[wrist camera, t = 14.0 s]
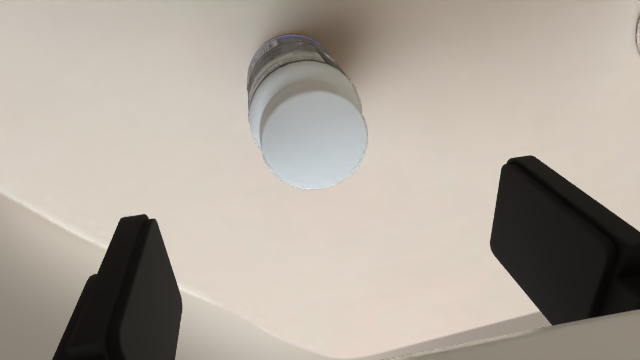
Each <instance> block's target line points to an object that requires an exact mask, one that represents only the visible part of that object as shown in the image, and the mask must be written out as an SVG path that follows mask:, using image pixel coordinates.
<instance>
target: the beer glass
mask: <svg viewBox="0 0 640 360" xmlns="http://www.w3.org/2000/svg"><path fill="white" fill-rule="evenodd" d="M637 45H638V49H639V51H640V19H639V23H638V28H637Z"/></svg>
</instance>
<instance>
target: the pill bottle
mask: <svg viewBox="0 0 640 360" xmlns="http://www.w3.org/2000/svg"><path fill="white" fill-rule="evenodd" d="M247 90H248V106H249V107H248V108H249V115H248V116H249V123H250V129H251V133H252V136H253V139H254V141H255V143H256V145H257V146H258V148H259V149H260V150H261V152H262V155H263V158H264V160H265V163H266V165H267V166H268V168H269V169H270V170H271V172H272V173H273V174H274V175H275V176H276V177H277V178H279V179H280V180H281V181H283V182H285V183H286V184H288V185H291V186H293V187H296V188H302V189H310V190H314V189H322V188H327V187H330V186H333V185H335V184H337V183H339V182H341V181H343V180H344V179H346V178H347V177H348V176H349V175H350V174H352V173H353V172H354V171H355V169H356V168H357V167H358V166H359V164H360V162H361V161H362V159H363V157H364V154H365V151H366V147H367V142H368V131H367V126H366V122H365V119H364V117H363V115H362V106H361V101H360V98H359V95H358V93H357V91H356V88H355V86H354V85H353V84H352V82H351V80H350V79H349V78H348V77H347V76H346V74H345V73H344V72H343V71H342V70H341V68H340V67H339V66H338V65H337V63H336V62H335V61H334V60H333V58H332V57H331V56H330V54H329V53H328V52H327V51H326V50H325V48H324V47H322V46H321V45H320V44H319V43H318V42H316V41H314V40H312V39H311V38H308V37H305V36H302V35H283V36H279V37H276V38H274V39H272V40H270V41H268V42H267V43H265V44H264V45H263V46H262V47H261V48H260V49H259V50H258V51H257V53H256V54H255V55H254V57H253V59H252V61H251V63H250V66H249V70H248V78H247Z"/></svg>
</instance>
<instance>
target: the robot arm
mask: <svg viewBox="0 0 640 360" xmlns="http://www.w3.org/2000/svg"><path fill="white" fill-rule="evenodd" d="M490 247H491V250H492V253H493V254H494V256H495V257H496V258H497V259H498V260H499V262H500V263H501V264H502V265H503V266H504V268H505V269H506V270H507V271H508V272H509V274H510V275H511V276H512V277H513V279H514V280H515V281H516V282H517V283H518V285H519V286H520V287H521V288H522V289H523V291H524V292H525V293H526V294H527V295H528V297H529V298H530V299H531V300H532V301H533V303H534V304H535V305H536V306H537V307H538V309H539V310H540V311H541V312H542V314H543V315H544V316H545V317H546V318H547V320H548V321H549V322H550V323H551V324H552V326H548V327H543V328H538V329H533V330H528V331H523V332H517V333H513V334H507V335H502V336H497V337H492V338H487V339H482V340H477V341H472V342H467V343H462V344H457V345H453V346H447V347H442V348H437V349H432V350H428V351H422V352H417V353H412V354H407V355H402V356H397V357H393V358H388V359H383V360H640V232H639V231H638V230H636V229H635V228H634V227H632V226H631V225H629V224H628V223H627V222H625V221H624V220H622V219H621V218H620V217H618V216H617V215H615V214H614V213H613V212H611V211H610V210H608V209H607V208H606V207H604V206H603V205H601V204H600V203H599V202H597V201H596V200H594V199H593V198H592V197H590V196H589V195H587V194H586V193H585V192H583V191H582V190H580V189H579V188H578V187H576V186H575V185H573V184H572V183H571V182H569V181H568V180H566V179H565V178H564V177H562V176H561V175H559V174H558V173H557V172H555V171H554V170H552V169H551V168H550V167H548V166H547V165H545V164H544V163H543V162H541V161H540V160H538V159H537V158H536V157H534V156H523V157H516V158H511V159H509V160H508V162H507V164H505V165H503V167H502V169H501V175H500V181H499V188H498V194H497V200H496V207H495V213H494V220H493V226H492V233H491V239H490ZM181 314H182V299H181V295H180V292H179V289H178V285H177V282H176V279H175V276H174V273H173V270H172V267H171V264H170V261H169V257H168V254H167V251H166V248H165V245H164V242H163V239H162V236H161V233H160V230H159V226H158V223H157V221H156V219H149V218H148V217H147V215H145V214H142V215H136V216H129V217H123V218H121V219H120V221H119V223H118V226H117V228H116V230H115V233H114V235H113V238H112V240H111V242H110V245H109V247H108V249H107V252H106V254H105V257H104V259H103V261H102V264H101V266H100V268H99V271H98V273H97V274H94V275H92V276H90V277H89V279H88V280H87V282H86V284H85V287H84V289H83V291H82V293H81V296H80V298H79V300H78V303H77V305H76V307H75V309H74V312H73V314H72V316H71V318H70V321H69V323H68V325H67V327H66V330H65V332H64V334H63V337H62V339H61V341H60V343H59V346H58V348H57V350H56V352H55V355H54V357H53V359H52V360H175V355H176V348H177V341H178V335H179V328H180V321H181Z"/></svg>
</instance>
